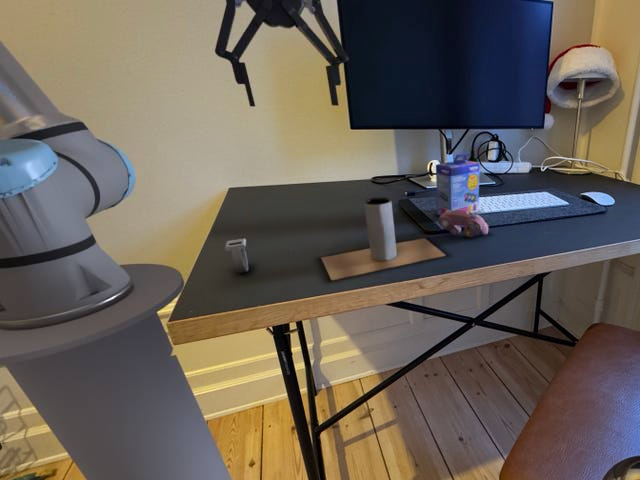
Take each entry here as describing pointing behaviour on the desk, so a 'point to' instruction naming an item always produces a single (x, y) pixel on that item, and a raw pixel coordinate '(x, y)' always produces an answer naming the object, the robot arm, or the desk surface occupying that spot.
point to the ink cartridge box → (457, 185)
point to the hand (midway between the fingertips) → (295, 106)
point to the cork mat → (363, 262)
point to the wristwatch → (238, 254)
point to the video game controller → (463, 222)
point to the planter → (380, 228)
